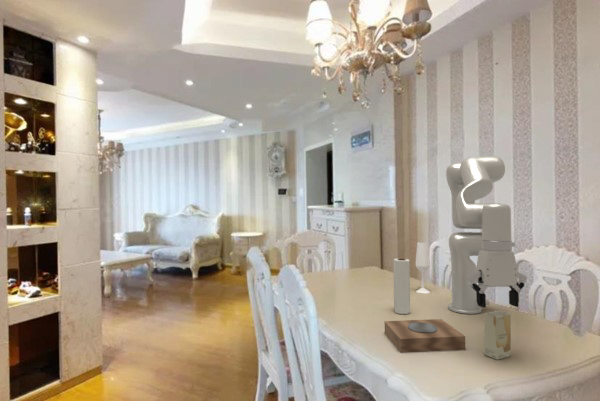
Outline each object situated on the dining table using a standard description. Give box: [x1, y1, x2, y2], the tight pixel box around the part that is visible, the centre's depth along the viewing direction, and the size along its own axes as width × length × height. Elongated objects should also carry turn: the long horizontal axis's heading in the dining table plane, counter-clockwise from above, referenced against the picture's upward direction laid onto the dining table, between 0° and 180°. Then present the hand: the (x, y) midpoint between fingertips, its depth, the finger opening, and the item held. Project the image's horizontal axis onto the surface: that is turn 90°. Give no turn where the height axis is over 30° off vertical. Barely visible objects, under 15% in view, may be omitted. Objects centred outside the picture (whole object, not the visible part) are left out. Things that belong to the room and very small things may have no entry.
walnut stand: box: [384, 318, 467, 353], centre depth 119 cm, size 20×16×4 cm
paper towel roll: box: [393, 257, 411, 315], centre depth 149 cm, size 7×6×21 cm
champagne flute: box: [415, 241, 431, 294], centre depth 180 cm, size 7×7×24 cm
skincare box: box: [483, 310, 512, 361], centre depth 107 cm, size 6×4×12 cm
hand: (497, 306), depth 106 cm, fingers open, 9 cm apart
